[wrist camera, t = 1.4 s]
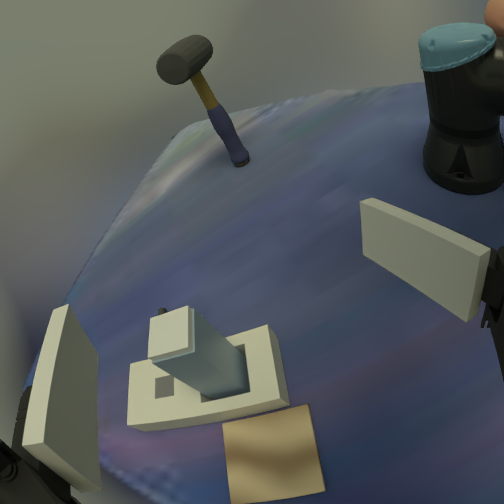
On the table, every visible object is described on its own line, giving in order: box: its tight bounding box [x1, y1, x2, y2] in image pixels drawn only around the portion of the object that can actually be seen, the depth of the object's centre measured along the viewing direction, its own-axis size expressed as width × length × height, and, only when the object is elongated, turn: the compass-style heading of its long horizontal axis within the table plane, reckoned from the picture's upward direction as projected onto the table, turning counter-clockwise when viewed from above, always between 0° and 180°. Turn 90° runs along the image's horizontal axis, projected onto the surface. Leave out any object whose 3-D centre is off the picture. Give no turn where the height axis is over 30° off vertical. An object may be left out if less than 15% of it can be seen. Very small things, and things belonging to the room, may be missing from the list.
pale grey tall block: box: [148, 306, 251, 400], centre depth 32 cm, size 4×4×14 cm
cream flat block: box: [127, 308, 290, 432], centre depth 39 cm, size 19×20×4 cm
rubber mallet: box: [156, 35, 249, 166], centre depth 58 cm, size 12×8×30 cm, turn 167°
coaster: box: [222, 404, 326, 504], centre depth 28 cm, size 10×10×1 cm
